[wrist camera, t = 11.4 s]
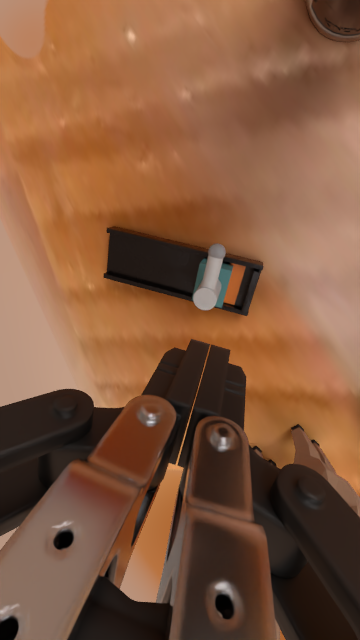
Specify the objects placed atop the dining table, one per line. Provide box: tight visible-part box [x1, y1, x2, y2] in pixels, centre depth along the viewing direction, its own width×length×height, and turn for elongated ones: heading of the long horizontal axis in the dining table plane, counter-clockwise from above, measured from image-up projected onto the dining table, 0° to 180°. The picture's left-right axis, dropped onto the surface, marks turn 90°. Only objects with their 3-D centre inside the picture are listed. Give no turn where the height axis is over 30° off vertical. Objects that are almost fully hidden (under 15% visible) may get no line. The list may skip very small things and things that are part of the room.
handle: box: [192, 244, 233, 310], centre depth 34 cm, size 8×4×8 cm, turn 169°
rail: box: [104, 227, 263, 316], centre depth 38 cm, size 7×21×3 cm, turn 79°
